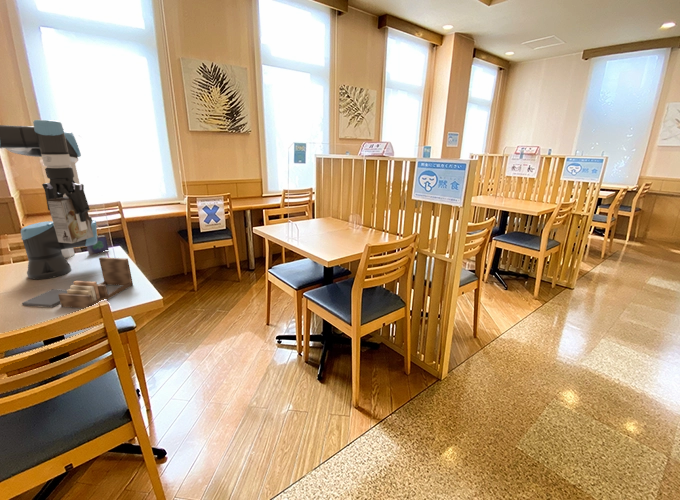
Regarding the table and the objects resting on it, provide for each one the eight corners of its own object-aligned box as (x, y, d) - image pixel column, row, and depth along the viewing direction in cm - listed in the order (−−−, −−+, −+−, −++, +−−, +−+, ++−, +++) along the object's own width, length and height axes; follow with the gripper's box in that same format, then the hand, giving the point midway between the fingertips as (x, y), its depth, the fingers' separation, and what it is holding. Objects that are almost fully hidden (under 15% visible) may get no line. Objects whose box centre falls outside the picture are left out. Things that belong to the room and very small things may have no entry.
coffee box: (80, 235, 128) (70, 195, 123) (94, 237, 127) (85, 196, 122) (57, 242, 119) (46, 199, 114) (72, 243, 119) (61, 200, 113)
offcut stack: (70, 304, 121) (65, 285, 119) (80, 299, 125) (75, 280, 123) (91, 306, 120) (86, 286, 118) (100, 300, 124) (96, 281, 122)
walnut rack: (61, 306, 119) (53, 276, 116) (107, 283, 140) (101, 257, 136) (91, 308, 118) (84, 278, 115) (133, 284, 138) (127, 258, 135)
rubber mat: (22, 305, 120) (21, 302, 120) (53, 291, 131) (52, 289, 131) (52, 307, 119) (51, 304, 119) (80, 293, 130) (79, 290, 130)
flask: (89, 255, 174) (85, 236, 170) (88, 254, 175) (83, 235, 172) (109, 251, 180) (105, 232, 177) (107, 250, 182) (103, 231, 179)
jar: (73, 252, 177) (68, 231, 174) (75, 256, 172) (70, 234, 168) (52, 256, 171) (46, 234, 168) (53, 260, 166) (47, 237, 162)
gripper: (21, 166, 112) (40, 231, 119) (75, 168, 111) (90, 233, 118) (42, 165, 119) (58, 226, 126) (93, 166, 118) (106, 228, 125)
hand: (74, 229), depth 122 cm, fingers closed on coffee box, 7 cm apart
